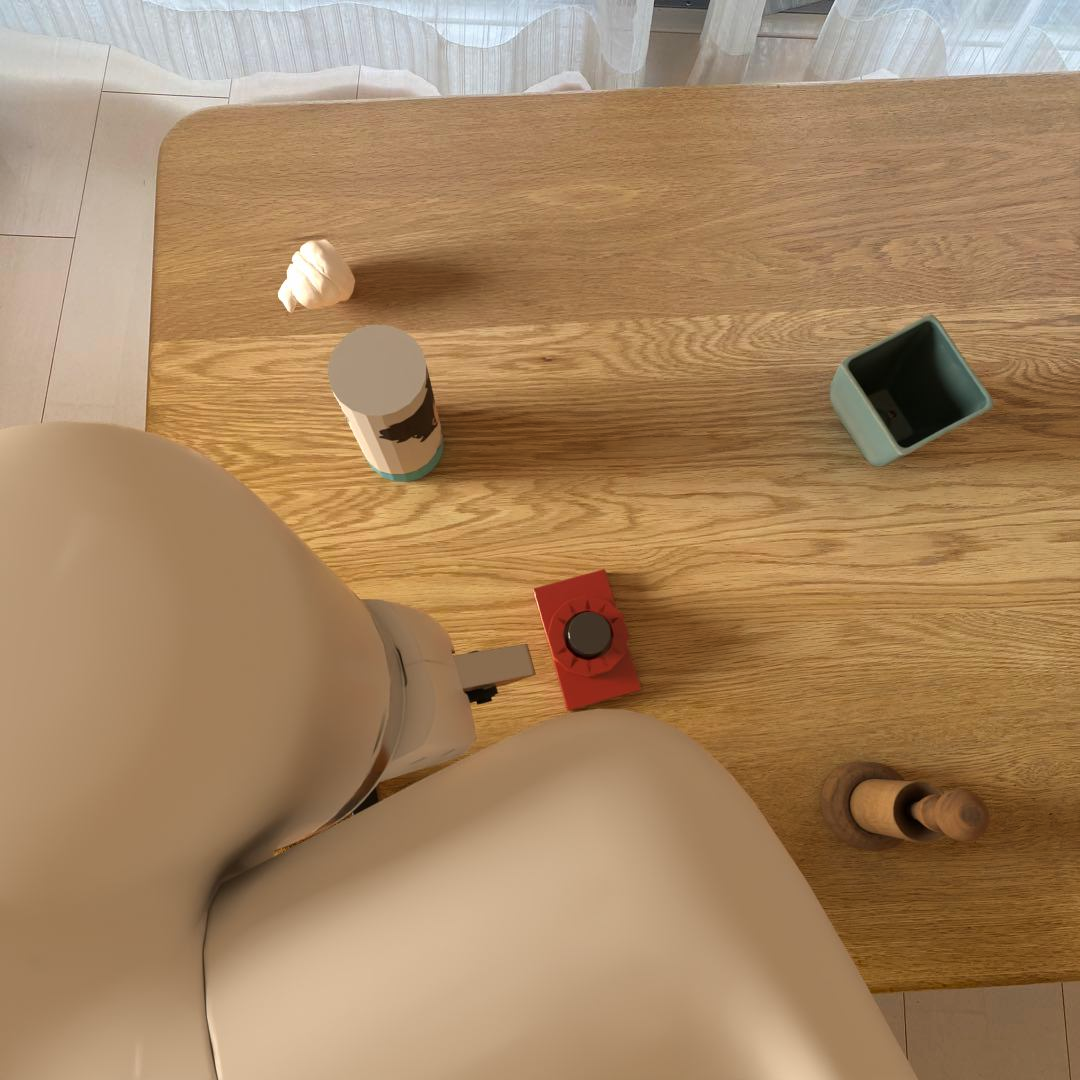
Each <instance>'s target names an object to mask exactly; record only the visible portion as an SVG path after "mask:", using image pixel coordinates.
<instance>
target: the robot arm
mask: <svg viewBox="0 0 1080 1080" xmlns="http://www.w3.org/2000/svg"><path fill="white" fill-rule="evenodd" d="M535 675H536V670H535V666H534V663H533V659H532V656H531V652H530V647H529V644H528V643H522V644H515V645H509V646H504V647H497V648H491V649H485V650H473V651H468V652H465V653H461V654H456V650H455V647H454V644H453V642H452V638H451V636H450V634H449V632H448V631H447V630H446V628H445V627H444V626H443V625H442V624H441V623H440V622H439V621H438V620H437V619H436V618H434V617H433V616H431V615H430V614H428V613H427V612H425V611H423V610H420V609H418V608H415V607H413V606H410V605H406V604H403V603H399V602H396V601H395V602H394V601H390V600H384V599H379V598H378V599H377V598H376V599H374V598H372V599H371V598H368V599H367V598H365V599H364V598H360V597H359V595H357V594H356V593H355V592H354V591H353V590H352V589H351V588H350V587H349V585H348V584H347V583H346V582H345V581H344V580H343V579H342V578H341V577H340V576H339V575H338V574H337V573H336V572H335V571H334V570H333V569H332V568H331V567H330V566H329V565H328V564H327V563H326V562H325V561H324V560H323V559H322V558H321V557H320V556H319V555H318V554H317V553H316V552H315V551H314V550H313V549H312V547H310V546H309V545H308V544H307V543H306V542H305V541H304V540H303V538H301V537H300V536H299V535H298V533H296V532H295V530H294V529H293V528H292V527H290V525H288V523H286V522H285V520H283V518H282V517H281V516H280V515H279V514H277V512H276V511H275V510H274V509H273V508H272V507H271V506H270V505H269V504H268V503H267V502H266V501H264V500H263V499H262V498H261V497H260V496H259V495H257V494H256V493H255V492H254V491H253V490H252V489H251V488H249V487H248V486H247V485H246V484H245V483H244V482H243V481H242V480H240V479H239V478H238V477H236V476H235V475H234V474H233V473H231V472H230V471H229V470H227V469H226V468H225V467H223V466H222V465H221V464H220V463H218V462H216V461H215V460H213V459H211V458H210V457H208V456H207V455H205V454H203V453H201V452H200V451H198V450H196V449H194V448H192V447H190V446H188V445H185V444H183V443H181V442H179V441H176V440H173V439H171V438H168V437H166V436H164V435H161V434H157V433H154V432H150V431H145V430H142V429H137V428H133V427H130V426H125V425H121V424H117V423H113V422H112V423H111V422H100V421H99V422H98V421H85V420H84V421H83V420H73V419H72V420H62V421H58V420H57V421H49V422H36V423H26V424H25V423H24V424H18V425H14V426H10V427H6V428H1V429H0V1080H919V1078H918V1077H917V1075H916V1073H915V1071H914V1069H913V1067H912V1066H911V1064H910V1062H909V1060H908V1058H907V1056H906V1055H905V1052H904V1051H903V1049H902V1047H901V1045H900V1044H899V1041H898V1040H897V1038H896V1036H895V1034H894V1033H893V1031H892V1029H891V1027H890V1025H889V1024H888V1021H887V1019H886V1018H885V1016H884V1015H883V1012H882V1011H881V1009H880V1007H879V1005H878V1004H877V1002H876V1000H875V998H874V996H873V994H872V993H871V991H870V989H869V987H868V985H867V984H866V981H865V980H864V978H863V976H862V973H860V971H859V969H858V967H857V965H856V964H855V962H854V960H853V958H852V957H851V955H850V953H849V951H848V950H847V947H846V946H845V944H844V943H843V940H842V938H841V937H840V936H839V934H838V932H837V931H836V929H835V927H834V925H833V924H832V921H831V920H830V918H829V917H828V915H827V913H826V911H825V909H824V907H823V906H822V904H821V902H820V901H819V899H818V898H817V896H816V894H815V892H814V891H813V888H812V887H811V885H810V883H809V882H808V881H807V879H806V877H805V876H804V874H803V873H802V872H801V871H802V870H800V869H799V866H798V865H797V864H796V862H795V861H794V859H793V857H792V856H791V855H790V853H789V851H788V850H787V848H786V847H785V846H784V844H783V843H782V841H781V840H780V838H779V837H778V836H777V834H776V833H775V831H774V829H773V827H772V826H771V824H770V823H769V822H768V820H767V819H766V817H765V816H764V814H763V812H762V811H761V810H760V808H759V806H758V805H757V804H756V802H755V800H753V798H752V797H751V796H750V795H749V793H748V792H747V791H746V790H745V789H744V787H743V786H742V785H741V784H740V783H739V781H738V780H737V779H736V778H735V777H734V775H733V774H731V772H730V771H729V770H728V769H727V768H726V767H725V766H724V765H723V764H722V763H720V761H718V759H716V758H715V757H714V755H712V754H711V753H710V752H709V751H708V750H707V749H706V748H705V747H703V745H702V744H700V743H699V742H698V741H697V740H695V739H694V738H692V737H691V736H690V735H688V734H687V733H685V732H684V731H682V730H681V729H679V728H678V727H676V726H675V725H672V724H671V723H668V722H666V721H664V720H662V719H660V718H657V717H655V716H653V715H650V714H646V713H643V712H638V711H634V710H628V709H624V708H623V709H622V708H594V709H593V708H592V709H588V710H581V711H575V712H569V713H567V714H562V715H560V716H559V715H558V716H556V717H552V718H550V719H546V720H543V721H540V722H538V723H536V724H534V725H531V726H529V727H527V728H524V729H522V730H520V731H518V732H516V733H513V734H511V735H509V736H507V737H504V738H503V739H501V740H499V741H497V742H494V743H492V744H490V745H488V746H486V747H484V748H481V749H479V750H478V751H476V752H474V753H472V754H469V755H468V756H466V757H464V758H462V759H460V760H458V761H456V762H454V763H452V764H450V765H448V766H446V767H444V768H442V769H440V770H438V771H436V772H434V773H432V774H430V775H427V776H426V777H424V778H422V779H420V780H418V781H416V782H414V783H412V784H410V785H408V786H407V787H404V788H402V789H401V790H399V791H397V792H395V793H393V794H391V795H390V796H388V797H386V798H384V799H382V801H380V802H378V803H376V804H374V805H372V806H371V807H369V808H367V809H365V810H363V811H361V812H359V813H357V814H355V815H354V816H352V815H351V816H350V817H347V816H349V815H350V814H352V811H353V810H355V809H356V808H357V807H358V806H359V805H360V804H361V803H362V802H363V801H364V800H365V799H366V797H367V796H368V795H369V794H370V793H371V792H372V790H373V789H374V788H375V787H376V786H377V784H378V783H379V784H380V782H385V781H387V780H388V781H389V780H392V779H393V778H398V777H401V776H404V775H407V774H411V773H414V772H418V771H421V770H425V769H428V768H431V767H433V766H437V765H440V764H443V763H446V762H450V761H452V760H454V759H457V758H458V759H459V758H460V757H463V756H465V755H466V754H467V753H468V752H469V751H470V750H471V749H472V747H473V746H474V745H475V743H476V741H477V733H476V727H475V721H474V716H473V711H472V706H471V704H472V703H473V704H474V703H476V705H477V706H478V705H483V704H487V703H490V702H492V701H493V697H494V698H495V697H496V695H498V694H499V691H498V688H500V687H504V686H508V685H511V684H513V683H516V682H519V681H522V680H525V679H527V678H531V677H534V676H535ZM346 817H347V818H346ZM344 818H346V819H344ZM303 840H304V841H303ZM298 842H300V843H298ZM296 843H298V844H296ZM293 844H296V845H294V846H291V845H293ZM288 846H291V847H290V848H287V847H288ZM280 848H281V849H283V848H287V849H286V850H284V851H282V852H280V853H278V854H276V852H275V850H277V849H279V850H281V849H280ZM275 854H276V855H275Z"/></svg>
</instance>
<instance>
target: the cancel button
mask: <svg viewBox="0 0 1080 1080" xmlns="http://www.w3.org/2000/svg"><path fill="white" fill-rule="evenodd" d="M610 636H611V631H610V626H609V624H608V622H607V621H606V620H605V618H603V617H602V616H601V615H599V614H597V613H593V612H585V613H582V614H579V615H578V616H576V617H575V618H574V619H573V620H572V622H571V624H570V626H569V629H568V634H567V637H568V642H569V645H570V647H571V648H572V649H573V650H574V651H575V652H576V653H577V654H579V655H582V656H586V657H590V656H595V655H597V654H599V653H601V652H602V651H603V650H604V649H605V647H606V646H607V644H608V643H609V640H610Z"/></svg>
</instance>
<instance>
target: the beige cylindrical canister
mask: <svg viewBox="0 0 1080 1080" xmlns="http://www.w3.org/2000/svg"><path fill="white" fill-rule="evenodd" d="M332 350H333V351H332V353H331V355H330V357H329V359H328V367H327V377H328V382H329V385H330V390H331V391H332V393H333V396H334V397H335V399H336V402H337V404H338V405H339V407H340V409H341V411H342V413H343V416H344V418H345V419H346V422H347V424H348V425H349V427H350V429H351V432H352V433H353V435H354V438H355V439H356V441H357V444H358V445H359V447H360V450H361V451H362V453H363V457H364V458H365V460H366V462H367V463H368V464H369V466H370V467H371V469H372V470H373V472H375V473H376V474H378V475H379V476H380V477H382V478H384V479H386V480H389V481H392V482H395V483H396V482H397V483H399V482H400V483H408V482H413V481H416V480H421V479H422V478H423V477H425V476H427V475H428V474H430V473H431V472H432V471H434V469H435V468H436V466H437V465H438V464H439V462H440V460H441V457H442V455H443V453H444V445H445V437H444V434H443V430H442V425H441V421H440V417H439V413H438V408H437V403H436V399H435V395H434V391H433V386H432V382H431V378H430V374H429V369H428V364H427V360H426V358H425V354H424V351H423V349H422V347H421V346H420V345H419V343H418V341H417V340H416V339H415V338H414V337H413V336H412V335H410V334H408V333H407V332H406V331H405V330H403V329H401V328H399V327H395V326H392V325H390V324H370V325H366V326H362V327H358V328H356V329H354V330H353V331H351V332H350V333H348V334H346V335H345V336H343V338H342V339H341V340H340V341H339V342H338V343H337V344H336V345H335V347H334V349H332Z"/></svg>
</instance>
